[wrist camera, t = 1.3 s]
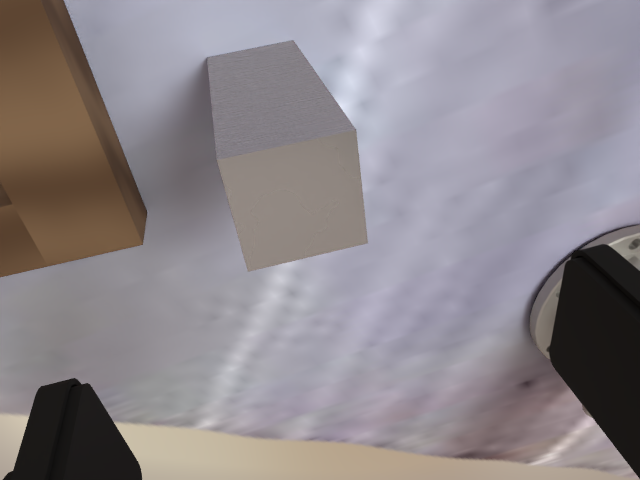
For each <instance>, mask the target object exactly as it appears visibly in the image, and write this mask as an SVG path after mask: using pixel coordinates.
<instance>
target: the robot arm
mask: <svg viewBox="0 0 640 480" xmlns="http://www.w3.org/2000/svg"><path fill="white" fill-rule="evenodd" d="M530 333H531V337H532V340H533V341H534V343H535V344H536V346H537V347H538V349H539V350H540V351H541V352H542V353H543V354H544V356H545V357H546V358H548V359H549V360H551V362H552V365H553V366H554V368H555V369H556V371H557V372H558V373H559V375H560V376H561V377H562V379H563V380H564V381H565V382H566V384H567V385H568V386H569V388H570V389H571V390H572V391H573V393H574V394H575V395H576V397H577V398H578V399H579V401H580V402H581V403H582V408H583V410H584V412H585V413H586V414H587V415H589V416H590V417H592V418H593V419H594V420H595V421H596V423H597V424H598V425H599V426H600V428H601V429H602V430H603V432H604V433H605V434H606V436H607V437H608V438H609V439H610V441H611V442H612V443H613V445H614V446H615V447H616V449H617V450H618V451H619V452H620V454H621V455H622V456H623V458H624V459H625V460H626V461H627V463H628V464H629V465H630V467H631V468H632V469H633V471H634V472H635V473H636V474H637V476H638V477H639V478H640V225H637V226H632V227H627V228H623V229H620V230H617V231H614V232H612V233H609V234H606V235H604V236H602V237H600V238H598V239H596V240H594V241H592V242H591V243H589V244H587V245H586V246H584V247H583V248H581V249H580V250H578V251H575V252H574V253H573V254H572V256H571V257H569V258H568V259H567V260H566V261H565V262H564V263H563V264H561V265H560V266H559V267H558V268H557V270H556V271H555V272H554V273H553V274H552V275H551V276H550V277H549V279H548V280H547V281H546V283H545V284H544V286H543V287H542V289H541V290H540V292H539V294H538V296H537V298H536V300H535V302H534V305H533V307H532V311H531V315H530ZM3 480H142V473H141V468H140V465H139V463H138V461H137V460H136V458H135V456H134V455H133V453H132V451H131V450H130V448H129V446H128V445H127V443H126V442H125V440H124V438H123V437H122V435H121V434H120V432H119V430H118V429H117V427H116V425H115V424H114V422H113V421H112V419H111V417H110V416H109V414H108V412H107V411H106V409H105V408H104V406H103V404H102V403H101V401H100V399H99V398H98V396H97V395H96V393H95V391H94V390H93V388H92V387H91V385H90V384H88V383H86V384H82V385H81V383H80V382H79V381H78V380H77V379H75V378H73V379H69V380H65V381H61V382H57V383H53V384H49V385H45V386H41V387H40V388H39V389H38V391H37V393H36V396H35V399H34V403H33V406H32V409H31V413H30V416H29V419H28V423H27V427H26V430H25V433H24V436H23V440H22V443H21V446H20V450H19V453H18V457H17V460H16V463H15V467H14V470H13V471H12V472H9V473H8V474H7V475H6V476H5V478H4V479H3Z"/></svg>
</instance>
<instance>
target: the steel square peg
mask: <svg viewBox="0 0 640 480" xmlns="http://www.w3.org/2000/svg"><path fill="white" fill-rule="evenodd" d="M207 63H208V74H209V84H210V95H211V105H212V116H213V126H214V137H215V148H216V158H217V163H218V167H219V170H220V174H221V177H222V181H223V184H224V188H225V191H226V195H227V198H228V202H229V206H230V209H231V213H232V216H233V220H234V223H235V227H236V230H237V234H238V238H239V241H240V245H241V248H242V252H243V255H244V259H245V262H246V266H247V269H248V271H253V270H257V269H261V268H265V267H270V266H274V265H278V264H282V263H286V262H291V261H295V260H299V259H303V258H307V257H312V256H316V255H320V254H324V253H328V252H333V251H337V250H341V249H345V248H349V247H354V246H358V245H362V244H366V243H368V240H367V231H366V221H365V211H364V202H363V192H362V182H361V173H360V163H359V153H358V144H357V134H356V129H355V128H354V126H353V125H352V123H351V122H350V120H349V119H348V118H347V116H346V115H345V113H344V112H343V110H342V109H341V108H340V106H339V105H338V103H337V102H336V100H335V99H334V98H333V96H332V95H331V93H330V92H329V90H328V89H327V88H326V86H325V85H324V83H323V82H322V80H321V79H320V78H319V76H318V75H317V73H316V72H315V70H314V69H313V67H312V66H311V65H310V63H309V62H308V60H307V59H306V57H305V56H304V55H303V53H302V52H301V50H300V49H299V47H298V46H297V45H296V43H295V42H294V40H292V41H287V42H282V43H277V44H272V45H267V46H262V47H257V48H252V49H247V50H242V51H237V52H232V53H227V54H222V55H217V56H212V57H207Z"/></svg>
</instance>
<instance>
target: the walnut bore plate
mask: <svg viewBox="0 0 640 480" xmlns="http://www.w3.org/2000/svg"><path fill="white" fill-rule="evenodd" d="M146 218H147V211H146V208H145V206H144V203H143V201H142V198H141V196H140V193H139V191H138V188H137V185H136V183H135V180H134V178H133V175H132V173H131V170H130V168H129V165H128V163H127V160H126V158H125V155H124V153H123V150H122V147H121V145H120V142H119V140H118V137H117V135H116V132H115V130H114V127H113V125H112V122H111V120H110V117H109V114H108V112H107V109H106V107H105V104H104V102H103V99H102V97H101V94H100V92H99V89H98V87H97V84H96V82H95V79H94V76H93V74H92V71H91V69H90V66H89V64H88V61H87V59H86V56H85V54H84V51H83V49H82V46H81V44H80V41H79V38H78V36H77V33H76V31H75V28H74V26H73V23H72V21H71V18H70V16H69V13H68V11H67V8H66V5H65V3H64V0H0V277H3V276H8V275H12V274H16V273H21V272H25V271H30V270H34V269H38V268H43V267H47V266H51V265H56V264H60V263H65V262H69V261H73V260H78V259H82V258H86V257H91V256H95V255H100V254H104V253H108V252H113V251H117V250H121V249H126V248H130V247H135V246H139V245H143V239H144V232H145V225H146Z"/></svg>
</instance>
